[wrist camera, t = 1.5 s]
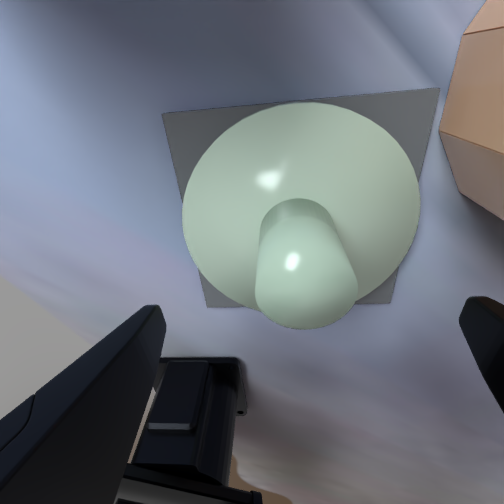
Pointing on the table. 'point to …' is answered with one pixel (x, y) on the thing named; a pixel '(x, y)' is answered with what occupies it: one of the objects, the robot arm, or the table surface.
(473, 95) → the bowl
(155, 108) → the table surface
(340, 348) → the table surface
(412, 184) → the lid
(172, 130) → the mat
